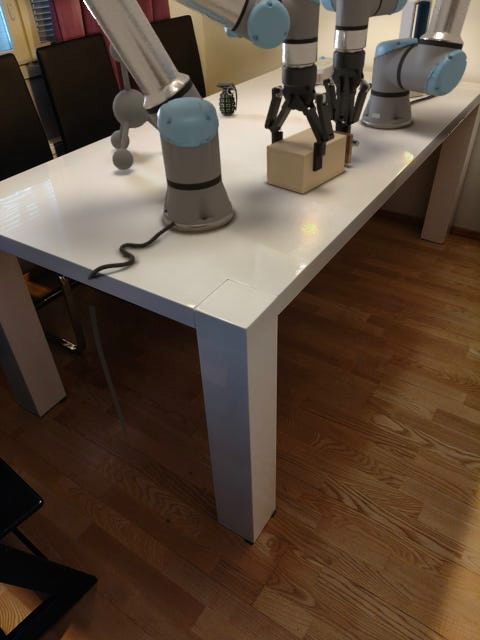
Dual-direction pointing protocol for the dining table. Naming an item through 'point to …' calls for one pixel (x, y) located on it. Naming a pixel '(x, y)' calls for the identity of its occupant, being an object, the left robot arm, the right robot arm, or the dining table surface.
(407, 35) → the electronic device
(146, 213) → the dining table surface
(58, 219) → the dining table surface
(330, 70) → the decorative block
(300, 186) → the tan cardboard box
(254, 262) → the dining table surface
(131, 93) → the molecular model
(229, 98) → the grenade
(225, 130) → the dining table surface
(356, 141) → the drawer
